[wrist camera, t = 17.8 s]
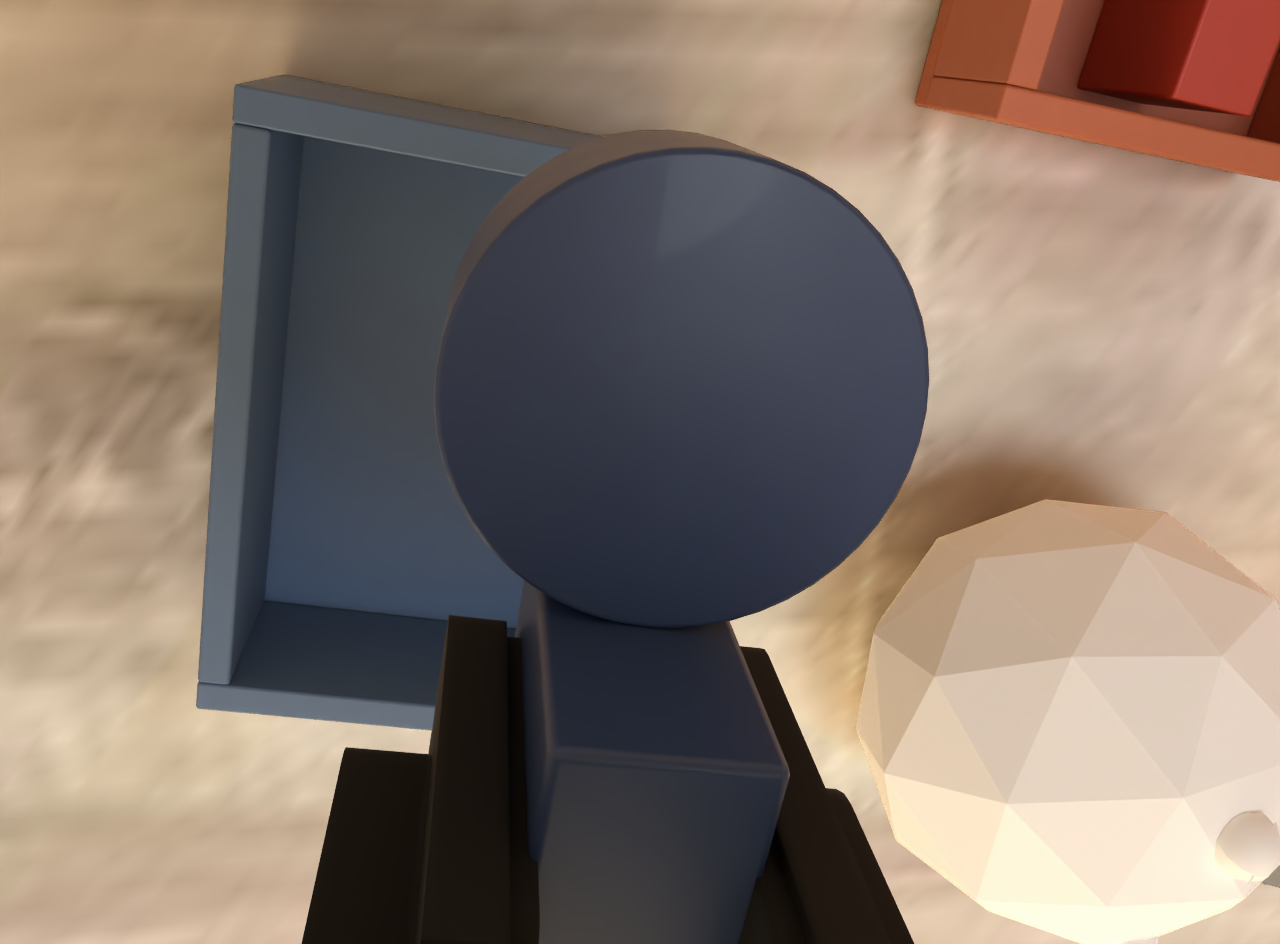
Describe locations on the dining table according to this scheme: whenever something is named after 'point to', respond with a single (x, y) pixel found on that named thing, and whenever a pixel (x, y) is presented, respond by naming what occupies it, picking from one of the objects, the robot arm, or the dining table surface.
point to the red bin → (1052, 102)
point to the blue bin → (345, 401)
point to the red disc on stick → (1184, 53)
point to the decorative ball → (1081, 721)
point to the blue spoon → (667, 492)
